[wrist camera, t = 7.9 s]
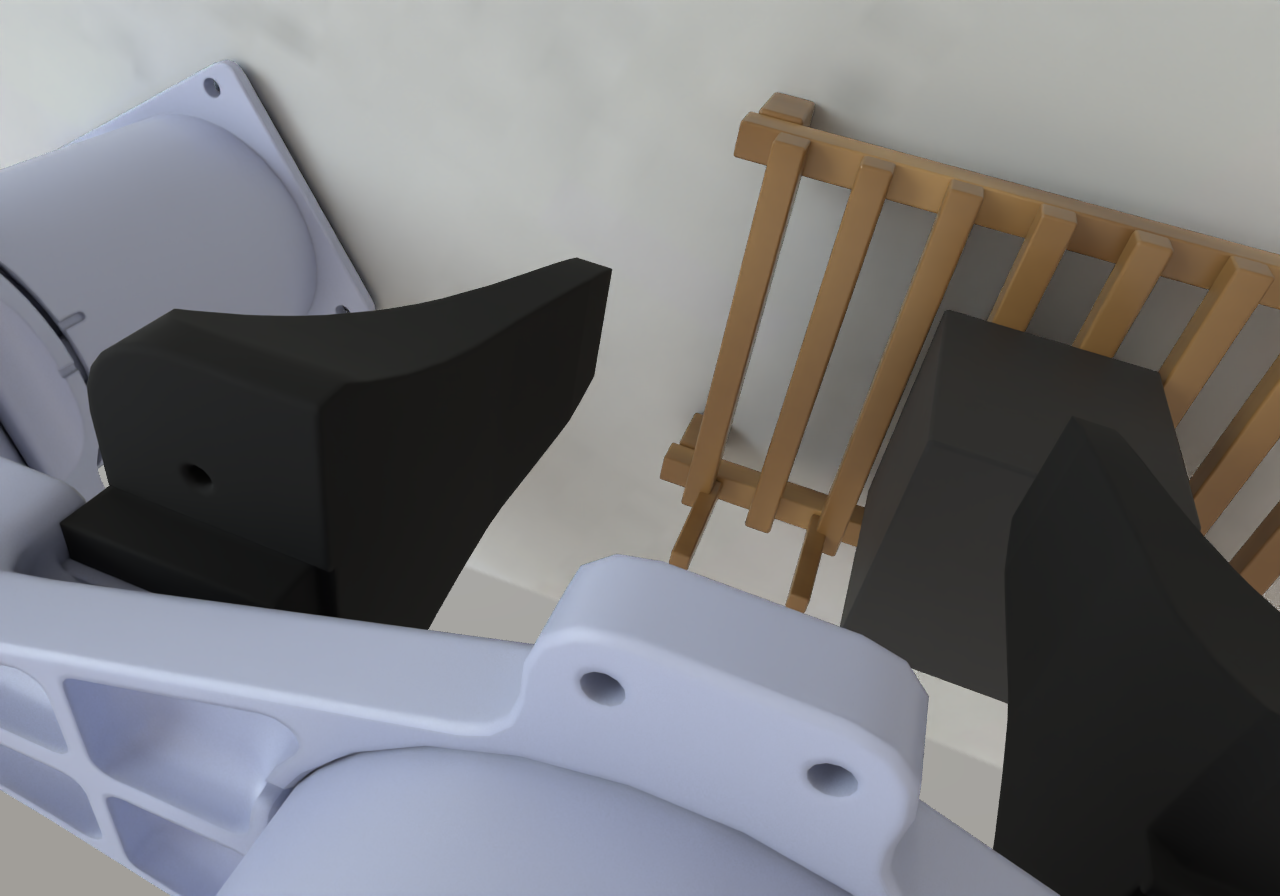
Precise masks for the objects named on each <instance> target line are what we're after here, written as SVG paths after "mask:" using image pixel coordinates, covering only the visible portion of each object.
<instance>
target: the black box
mask: <svg viewBox="0 0 1280 896" xmlns="http://www.w3.org/2000/svg"><path fill="white" fill-rule="evenodd" d="M1072 416H1075V417H1078V418H1081V419H1084V420H1087V421H1091V422H1094V423H1097V424H1100V425H1103V426H1106V427H1109V428H1112V429H1115V430H1116V431H1117V432H1118V433H1119V434H1120V435H1121V436H1122V437H1123V438H1124V439H1125V440H1126V441H1127V442H1128V444H1129V445H1130V446H1131V447H1132V448H1133V450H1134V451H1135V452H1136V453H1137V454H1138V456H1139V457H1140V458H1141V459H1142V461H1143V462H1144V463H1145V464H1146V466H1147V467H1148V468H1149V469H1150V471H1151V472H1152V473H1153V475H1154V476H1155V477H1156V478H1157V480H1158V481H1159V482H1160V483H1161V485H1162V486H1163V487H1164V488H1165V490H1166V491H1167V492H1168V493H1169V495H1170V496H1171V497H1172V498H1173V500H1174V501H1175V502H1176V503H1177V505H1178V506H1179V507H1180V508H1181V509H1182V511H1183V512H1184V513H1185V514H1186V515H1187V517H1188V518H1189V519H1190V520H1191V521H1192V523H1193V524H1194V525H1195V526H1196V527H1197V528H1198V530H1199V531H1201V524H1200V521H1199V517H1198V513H1197V510H1196V506H1195V502H1194V499H1193V495H1192V491H1191V487H1190V484H1189V480H1188V476H1187V473H1186V469H1185V465H1184V461H1183V458H1182V454H1181V450H1180V447H1179V443H1178V439H1177V436H1176V432H1175V428H1174V424H1173V421H1172V417H1171V413H1170V410H1169V406H1168V402H1167V398H1166V395H1165V391H1164V387H1163V384H1162V380H1161V376H1160V373H1158V372H1157V371H1153V370H1150V369H1147V368H1143V367H1140V366H1137V365H1133V364H1130V363H1127V362H1123V361H1120V360H1116V359H1113V358H1110V357H1106V356H1103V355H1100V354H1096V353H1093V352H1090V351H1086V350H1083V349H1079V348H1076V347H1073V346H1069V345H1066V344H1063V343H1059V342H1056V341H1053V340H1049V339H1046V338H1043V337H1039V336H1036V335H1032V334H1029V333H1026V332H1022V331H1019V330H1016V329H1012V328H1009V327H1006V326H1002V325H999V324H996V323H992V322H989V321H985V320H982V319H979V318H975V317H972V316H969V315H965V314H962V313H959V312H955V311H952V310H946V311H945V312H944V314H943V316H942V319H941V321H940V323H939V326H938V328H937V330H936V333H935V335H934V338H933V340H932V342H931V345H930V347H929V349H928V352H927V354H926V356H925V359H924V361H923V363H922V366H921V368H920V370H919V373H918V375H917V378H916V380H915V382H914V385H913V387H912V389H911V392H910V394H909V396H908V399H907V401H906V403H905V406H904V408H903V411H902V413H901V415H900V418H899V420H898V422H897V425H896V427H895V429H894V432H893V434H892V436H891V439H890V441H889V444H888V446H887V448H886V451H885V453H884V455H883V458H882V460H881V462H880V465H879V467H878V469H877V472H876V474H875V477H874V479H873V481H872V484H871V486H870V488H869V491H868V495H867V500H866V505H865V510H864V514H863V519H862V524H861V529H860V533H859V538H858V543H857V548H856V552H855V557H854V562H853V567H852V571H851V576H850V581H849V586H848V590H847V595H846V600H845V605H844V609H843V614H842V619H841V624H840V627H842V628H845V629H847V630H850V631H853V632H856V633H858V634H861V635H864V636H865V637H867V638H869V639H870V640H872V641H874V642H875V643H877V644H879V645H880V646H882V647H884V648H885V649H887V650H889V651H890V652H892V653H894V654H895V655H897V656H899V657H900V658H902V659H904V660H905V661H907V663H908V664H909V666H910V667H911V668H912V669H915V670H918V671H920V672H923V673H926V674H929V675H931V676H934V677H937V678H940V679H942V680H945V681H948V682H951V683H953V684H956V685H959V686H961V687H964V688H967V689H970V690H972V691H975V692H978V693H981V694H983V695H986V696H989V697H991V698H994V699H997V700H1000V701H1002V702H1005V703H1008V677H1007V648H1006V620H1005V576H1004V572H1005V564H1006V555H1007V547H1008V540H1009V534H1010V527H1011V520H1012V517H1013V515H1014V514H1015V512H1016V510H1017V508H1018V507H1019V505H1020V503H1021V502H1022V500H1023V498H1024V497H1025V495H1026V493H1027V491H1028V490H1029V488H1030V486H1031V485H1032V483H1033V481H1034V480H1035V478H1036V476H1037V475H1038V473H1039V471H1040V469H1041V468H1042V466H1043V464H1044V463H1045V461H1046V459H1047V458H1048V456H1049V454H1050V452H1051V451H1052V449H1053V447H1054V446H1055V444H1056V442H1057V441H1058V439H1059V437H1060V436H1061V434H1062V432H1063V430H1064V429H1065V427H1066V425H1067V424H1068V422H1069V420H1070V419H1071V417H1072Z"/></svg>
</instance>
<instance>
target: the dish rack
mask: <svg viewBox="0 0 1280 896" xmlns="http://www.w3.org/2000/svg"><path fill="white" fill-rule="evenodd" d="M814 108H815V103H813V102H812V101H808V100H804V99H801V98H797V97H793V96H789V95H786V94H782V93H778V92H777V93H774V94H773V95H772V96H771V98H770V99H769V100H768V101H767V102H766V103H765V105H764V106H763V107H762V108H761V109H760V111H759V114H758V113H755V112H749V113H748V114H747V115H746V116H745V118H744V119H743V120H742V121H741V124H740V128H739V132H738V137H737V141H736V145H735V150H734V156H735V157H737V158H741V159H745V160H748V161H752V162H755V163H759V164H762V165H766V166H767V167H766V171H765V175H764V178H763V182H762V186H761V190H760V194H759V198H758V202H757V206H756V210H755V214H754V218H753V222H752V226H751V230H750V234H749V237H748V241H747V245H746V249H745V253H744V257H743V261H742V265H741V269H740V273H739V277H738V281H737V285H736V289H735V293H734V296H733V300H732V304H731V308H730V312H729V316H728V320H727V324H726V328H725V332H724V336H723V340H722V344H721V348H720V352H719V355H718V359H717V363H716V367H715V371H714V375H713V379H712V383H711V387H710V391H709V395H708V399H707V403H706V407H705V411H704V414H703V415H702V414H699V413H695V414H694V416H693V418H692V420H691V422H690V424H689V426H688V427H687V429H686V431H685V433H684V435H683V437H682V439H681V441H680V444H676V443H672V444H671V446H670V448H669V450H668V451H667V453H666V455H665V457H664V460H663V465H662V469H661V473H660V479H662V480H665V481H668V482H671V483H674V484H677V485H680V486H682V487H685V489H684V493H683V497H682V504H684V505H687V506H690V507H692V508H691V511H690V513H689V515H688V517H687V519H686V521H685V524H684V526H683V528H682V530H681V532H680V534H679V537H678V539H677V541H676V543H675V545H674V547H673V550H672V552H671V556H670V560H669V564H671V565H674V566H677V567H679V568H682V569H685V570H687V569H688V568H689V565H690V563H691V561H692V558H693V556H694V554H695V551H696V549H697V547H698V544H699V542H700V540H701V537H702V535H703V533H704V530H705V528H706V526H707V523H708V521H709V519H710V516H711V514H712V512H713V509H714V507H715V505H716V502H717V500H718V499H720V500H723V501H726V502H729V503H731V504H734V505H737V506H740V507H743V508H746V509H749V512H748V515H747V518H746V521H745V525H746V526H747V527H750V528H753V529H756V530H759V531H762V532H765V533H769V532H770V530H771V527H772V524H773V522H774V519H778V520H780V521H783V522H786V523H789V524H792V525H795V526H798V527H801V528H803V529H806V534H805V537H804V541H803V544H802V548H801V551H800V555H799V558H798V562H797V565H796V569H795V572H794V576H793V579H792V583H791V586H790V590H789V593H788V597H787V600H786V604H785V605H786V607H788V608H790V609H793V610H796V611H799V612H801V613H804V612H805V611H806V609H807V606H808V604H809V601H810V598H811V594H812V590H813V586H814V582H815V578H816V574H817V570H818V567H819V563H820V559H821V555H822V553H824V554H827V555H830V556H835V555H836V552H837V550H838V547H839V545H840V543H841V542H844V543H847V544H850V545H852V546H855V547H857V543H858V538H859V533H860V529H861V524H862V519H863V514H864V510H865V507H862V506H859V505H856V504H857V502H858V500H859V497H860V495H861V493H862V490H863V488H864V485H865V483H866V481H867V478H868V476H869V473H870V471H871V469H872V466H873V464H874V461H875V459H876V457H877V454H878V452H879V450H880V447H881V445H882V442H883V440H884V438H885V435H886V433H887V430H888V428H889V426H890V423H891V421H892V419H893V416H894V414H895V411H896V409H897V407H898V404H899V402H900V399H901V397H902V395H903V392H904V390H905V387H906V385H907V383H908V380H909V378H910V376H911V373H912V371H913V368H914V366H915V364H916V361H917V359H918V356H919V354H920V352H921V349H922V347H923V344H924V342H925V340H926V337H927V335H928V333H929V330H930V328H931V325H932V323H933V321H934V318H935V316H936V313H937V311H938V309H939V306H940V304H941V301H942V299H943V297H944V294H945V292H946V290H947V287H948V285H949V282H950V280H951V278H952V275H953V273H954V270H955V268H956V266H957V263H958V261H959V258H960V256H961V254H962V251H963V249H964V247H965V244H966V242H967V239H968V237H969V235H970V232H971V230H972V227H973V225H974V224H976V225H980V226H983V227H987V228H990V229H994V230H997V231H1001V232H1005V233H1008V234H1012V235H1015V236H1019V237H1022V238H1025V239H1024V242H1023V244H1022V246H1021V248H1020V250H1019V252H1018V255H1017V257H1016V259H1015V261H1014V263H1013V265H1012V268H1011V270H1010V272H1009V274H1008V276H1007V278H1006V281H1005V283H1004V285H1003V287H1002V289H1001V291H1000V294H999V296H998V298H997V300H996V302H995V304H994V307H993V309H992V311H991V313H990V315H989V317H988V320H987V321H989V322H992V323H996V324H999V325H1002V326H1006V327H1009V328H1012V329H1016V330H1019V331H1022V332H1025V331H1026V329H1027V327H1028V325H1029V323H1030V321H1031V319H1032V317H1033V315H1034V313H1035V311H1036V309H1037V307H1038V305H1039V303H1040V301H1041V298H1042V296H1043V294H1044V292H1045V290H1046V288H1047V286H1048V284H1049V282H1050V280H1051V278H1052V276H1053V274H1054V272H1055V270H1056V268H1057V266H1058V264H1059V262H1060V260H1061V258H1062V256H1063V254H1064V252H1065V250H1069V251H1072V252H1076V253H1079V254H1083V255H1087V256H1090V257H1094V258H1097V259H1101V260H1104V261H1108V262H1111V263H1115V266H1114V268H1113V270H1112V272H1111V274H1110V276H1109V277H1108V279H1107V281H1106V283H1105V285H1104V287H1103V288H1102V290H1101V292H1100V294H1099V296H1098V298H1097V300H1096V301H1095V303H1094V305H1093V307H1092V309H1091V311H1090V313H1089V314H1088V316H1087V318H1086V320H1085V322H1084V324H1083V326H1082V327H1081V329H1080V331H1079V333H1078V335H1077V337H1076V339H1075V340H1074V342H1073V344H1072V346H1073V347H1076V348H1079V349H1083V350H1086V351H1090V352H1093V353H1096V354H1100V355H1103V356H1106V357H1110V358H1113V357H1114V355H1115V353H1116V352H1117V350H1118V348H1119V346H1120V345H1121V343H1122V341H1123V340H1124V338H1125V336H1126V334H1127V333H1128V331H1129V329H1130V327H1131V326H1132V324H1133V322H1134V321H1135V319H1136V317H1137V315H1138V314H1139V312H1140V310H1141V308H1142V307H1143V305H1144V303H1145V302H1146V300H1147V298H1148V296H1149V295H1150V293H1151V291H1152V289H1153V288H1154V286H1155V284H1156V283H1157V281H1158V279H1159V277H1160V276H1161V277H1165V278H1168V279H1172V280H1176V281H1179V282H1183V283H1186V284H1190V285H1193V286H1197V287H1201V288H1204V289H1208V290H1209V291H1208V293H1207V294H1206V296H1205V297H1204V299H1203V301H1202V302H1201V304H1200V305H1199V307H1198V309H1197V310H1196V312H1195V313H1194V315H1193V317H1192V318H1191V320H1190V321H1189V323H1188V325H1187V326H1186V328H1185V329H1184V331H1183V333H1182V334H1181V336H1180V337H1179V339H1178V341H1177V342H1176V344H1175V345H1174V347H1173V349H1172V350H1171V352H1170V353H1169V355H1168V357H1167V358H1166V360H1165V362H1164V363H1163V365H1162V366H1161V368H1160V370H1159V371H1158V373H1160V376H1161V380H1162V384H1163V387H1164V391H1165V395H1166V398H1167V402H1168V406H1169V410H1170V413H1171V417H1172V421H1173V424H1174V428H1176V427H1177V425H1178V424H1179V422H1180V421H1181V419H1182V418H1183V416H1184V415H1185V413H1186V412H1187V410H1188V409H1189V407H1190V406H1191V404H1192V403H1193V401H1194V400H1195V398H1196V397H1197V395H1198V394H1199V392H1200V391H1201V389H1202V388H1203V386H1204V385H1205V383H1206V382H1207V380H1208V379H1209V377H1210V376H1211V374H1212V373H1213V371H1214V370H1215V368H1216V367H1217V365H1218V364H1219V362H1220V361H1221V359H1222V358H1223V356H1224V355H1225V353H1226V352H1227V350H1228V349H1229V347H1230V346H1231V344H1232V343H1233V341H1234V340H1235V338H1236V337H1237V335H1238V334H1239V332H1240V331H1241V329H1242V328H1243V326H1244V325H1245V323H1246V322H1247V320H1248V319H1249V318H1250V316H1251V315H1252V313H1253V312H1254V310H1255V309H1256V307H1257V306H1258V304H1261V305H1265V306H1268V307H1272V308H1275V309H1279V310H1280V255H1278V254H1275V253H1271V252H1267V251H1263V250H1260V249H1256V248H1252V247H1249V246H1245V245H1241V244H1238V243H1234V242H1230V241H1227V240H1223V239H1219V238H1216V237H1212V236H1208V235H1204V234H1201V233H1197V232H1193V231H1190V230H1186V229H1182V228H1179V227H1175V226H1171V225H1168V224H1164V223H1160V222H1157V221H1153V220H1149V219H1145V218H1142V217H1138V216H1134V215H1131V214H1127V213H1123V212H1120V211H1116V210H1112V209H1109V208H1105V207H1101V206H1098V205H1094V204H1090V203H1086V202H1083V201H1079V200H1075V199H1072V198H1068V197H1064V196H1061V195H1057V194H1053V193H1050V192H1046V191H1042V190H1039V189H1035V188H1031V187H1027V186H1024V185H1020V184H1016V183H1013V182H1009V181H1005V180H1002V179H998V178H994V177H991V176H987V175H983V174H980V173H976V172H972V171H969V170H965V169H961V168H957V167H954V166H950V165H946V164H943V163H939V162H935V161H932V160H928V159H924V158H921V157H917V156H913V155H910V154H906V153H902V152H898V151H895V150H891V149H887V148H884V147H880V146H876V145H873V144H869V143H865V142H862V141H858V140H854V139H851V138H847V137H843V136H839V135H836V134H832V133H828V132H825V131H821V130H817V129H814V128H810V127H809V126H810V123H811V119H812V115H813V112H814ZM802 176H805V177H809V178H812V179H816V180H819V181H823V182H826V183H830V184H834V185H837V186H841V187H844V188H848V189H851V193H850V196H849V199H848V202H847V205H846V209H845V212H844V215H843V218H842V221H841V224H840V227H839V230H838V234H837V237H836V240H835V243H834V246H833V249H832V252H831V255H830V259H829V262H828V265H827V268H826V271H825V274H824V277H823V280H822V284H821V287H820V290H819V293H818V296H817V299H816V302H815V305H814V309H813V312H812V315H811V318H810V321H809V324H808V327H807V330H806V334H805V337H804V340H803V343H802V346H801V349H800V352H799V355H798V359H797V362H796V365H795V368H794V371H793V374H792V377H791V380H790V384H789V387H788V390H787V393H786V396H785V399H784V402H783V405H782V409H781V412H780V415H779V418H778V421H777V424H776V427H775V431H774V434H773V437H772V440H771V443H770V446H769V449H768V452H767V456H766V459H765V462H764V465H763V468H762V471H761V472H759V471H756V470H753V469H750V468H747V467H744V466H741V465H738V464H735V463H732V462H729V461H726V460H723V459H722V458H723V454H724V451H725V447H726V443H727V440H728V436H729V433H730V429H731V426H732V422H733V419H734V415H735V411H736V408H737V404H738V401H739V397H740V394H741V390H742V386H743V383H744V379H745V376H746V372H747V369H748V365H749V362H750V358H751V354H752V351H753V347H754V344H755V340H756V337H757V333H758V330H759V326H760V322H761V319H762V315H763V312H764V308H765V305H766V301H767V298H768V294H769V290H770V287H771V283H772V280H773V276H774V273H775V269H776V266H777V262H778V258H779V255H780V251H781V248H782V244H783V241H784V237H785V234H786V230H787V226H788V223H789V219H790V216H791V212H792V209H793V205H794V201H795V198H796V194H797V191H798V187H799V184H800V180H801V177H802ZM885 199H887V200H891V201H894V202H898V203H901V204H905V205H908V206H912V207H916V208H919V209H923V210H926V211H930V212H933V213H937V216H936V218H935V221H934V224H933V226H932V229H931V231H930V234H929V236H928V239H927V242H926V244H925V247H924V249H923V252H922V254H921V257H920V260H919V262H918V265H917V267H916V270H915V273H914V275H913V278H912V280H911V283H910V285H909V288H908V291H907V293H906V296H905V298H904V301H903V303H902V306H901V309H900V311H899V314H898V316H897V319H896V321H895V324H894V327H893V329H892V332H891V334H890V337H889V339H888V342H887V345H886V347H885V350H884V352H883V355H882V357H881V360H880V363H879V365H878V368H877V370H876V373H875V375H874V378H873V381H872V383H871V386H870V388H869V391H868V393H867V396H866V399H865V401H864V404H863V406H862V409H861V411H860V414H859V417H858V419H857V422H856V424H855V427H854V429H853V432H852V435H851V437H850V440H849V442H848V445H847V447H846V450H845V453H844V455H843V458H842V460H841V463H840V465H839V468H838V471H837V473H836V476H835V478H834V481H833V484H832V486H831V489H830V491H829V494H828V495H826V494H824V493H821V492H818V491H815V490H812V489H809V488H806V487H803V486H800V485H797V484H794V483H791V482H788V478H789V475H790V472H791V470H792V467H793V464H794V461H795V458H796V455H797V452H798V449H799V447H800V444H801V441H802V438H803V435H804V432H805V429H806V426H807V423H808V421H809V418H810V415H811V412H812V409H813V406H814V403H815V400H816V397H817V395H818V392H819V389H820V386H821V383H822V380H823V377H824V374H825V371H826V369H827V366H828V363H829V360H830V357H831V354H832V351H833V348H834V346H835V343H836V340H837V337H838V334H839V331H840V328H841V325H842V322H843V320H844V317H845V314H846V311H847V308H848V305H849V302H850V299H851V296H852V294H853V291H854V288H855V285H856V282H857V279H858V276H859V273H860V271H861V268H862V265H863V262H864V259H865V256H866V253H867V250H868V247H869V245H870V242H871V239H872V236H873V233H874V230H875V227H876V224H877V221H878V219H879V216H880V213H881V210H882V207H883V204H884V201H885ZM1279 438H1280V354H1279V355H1278V357H1277V358H1276V360H1275V361H1274V362H1273V364H1272V365H1271V367H1270V368H1269V369H1268V371H1267V372H1266V374H1265V375H1264V376H1263V378H1262V379H1261V381H1260V382H1259V383H1258V385H1257V386H1256V388H1255V389H1254V390H1253V392H1252V393H1251V395H1250V396H1249V398H1248V399H1247V400H1246V402H1245V403H1244V405H1243V406H1242V407H1241V409H1240V410H1239V412H1238V413H1237V414H1236V416H1235V417H1234V419H1233V420H1232V421H1231V423H1230V424H1229V426H1228V427H1227V428H1226V430H1225V431H1224V433H1223V434H1222V435H1221V437H1220V438H1219V440H1218V441H1217V442H1216V444H1215V445H1214V447H1213V448H1212V449H1211V451H1210V452H1209V454H1208V455H1207V456H1206V458H1205V459H1204V461H1203V462H1202V463H1201V465H1200V466H1199V468H1198V469H1197V470H1196V472H1195V473H1194V475H1193V476H1192V477H1191V479H1190V480H1189V484H1190V487H1191V491H1192V495H1193V499H1194V502H1195V506H1196V510H1197V513H1198V517H1199V521H1200V524H1201V531H1200V532H1201V533H1202V534H1203V535H1204V536H1205V534H1206V533H1207V532H1208V530H1209V529H1210V528H1211V526H1212V525H1213V524H1214V523H1215V521H1216V520H1217V519H1218V517H1219V516H1220V515H1221V513H1222V512H1223V511H1224V510H1225V508H1226V507H1227V506H1228V504H1229V503H1230V502H1231V500H1232V499H1233V498H1234V496H1235V495H1236V494H1237V493H1238V491H1239V490H1240V489H1241V487H1242V486H1243V485H1244V483H1245V482H1246V481H1247V480H1248V478H1249V477H1250V476H1251V474H1252V473H1253V472H1254V470H1255V469H1256V468H1257V466H1258V465H1259V464H1260V463H1261V461H1262V460H1263V459H1264V457H1265V456H1266V455H1267V453H1268V452H1269V451H1270V450H1271V448H1272V447H1273V446H1274V444H1275V443H1276V442H1277V440H1278V439H1279ZM1229 564H1230V565H1231V566H1232V567H1233V568H1234V569H1235V570H1236V571H1237V572H1238V573H1239V574H1240V575H1241V576H1242V577H1243V578H1244V579H1245V580H1246V581H1247V582H1248V583H1249V584H1250V585H1251V586H1252V587H1253V588H1254V589H1255V590H1256V591H1257V592H1258V593H1259V594H1261V595H1263V594H1264V593H1265V592H1266V590H1267V589H1268V588H1269V587H1270V586H1271V585H1272V584H1273V582H1274V581H1275V580H1276V579H1277V578H1278V577H1279V576H1280V501H1279V502H1278V503H1277V504H1276V506H1275V507H1274V508H1273V509H1272V510H1271V512H1270V513H1269V514H1268V515H1267V517H1266V518H1265V519H1264V520H1263V522H1262V523H1261V524H1260V525H1259V527H1258V528H1257V529H1256V530H1255V531H1254V533H1253V534H1252V535H1251V536H1250V538H1249V539H1248V540H1247V541H1246V543H1245V544H1244V545H1243V546H1242V547H1241V549H1240V550H1239V551H1238V552H1237V554H1236V555H1235V556H1234V557H1233V559H1232V560H1231V561H1230V562H1229Z"/></svg>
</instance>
